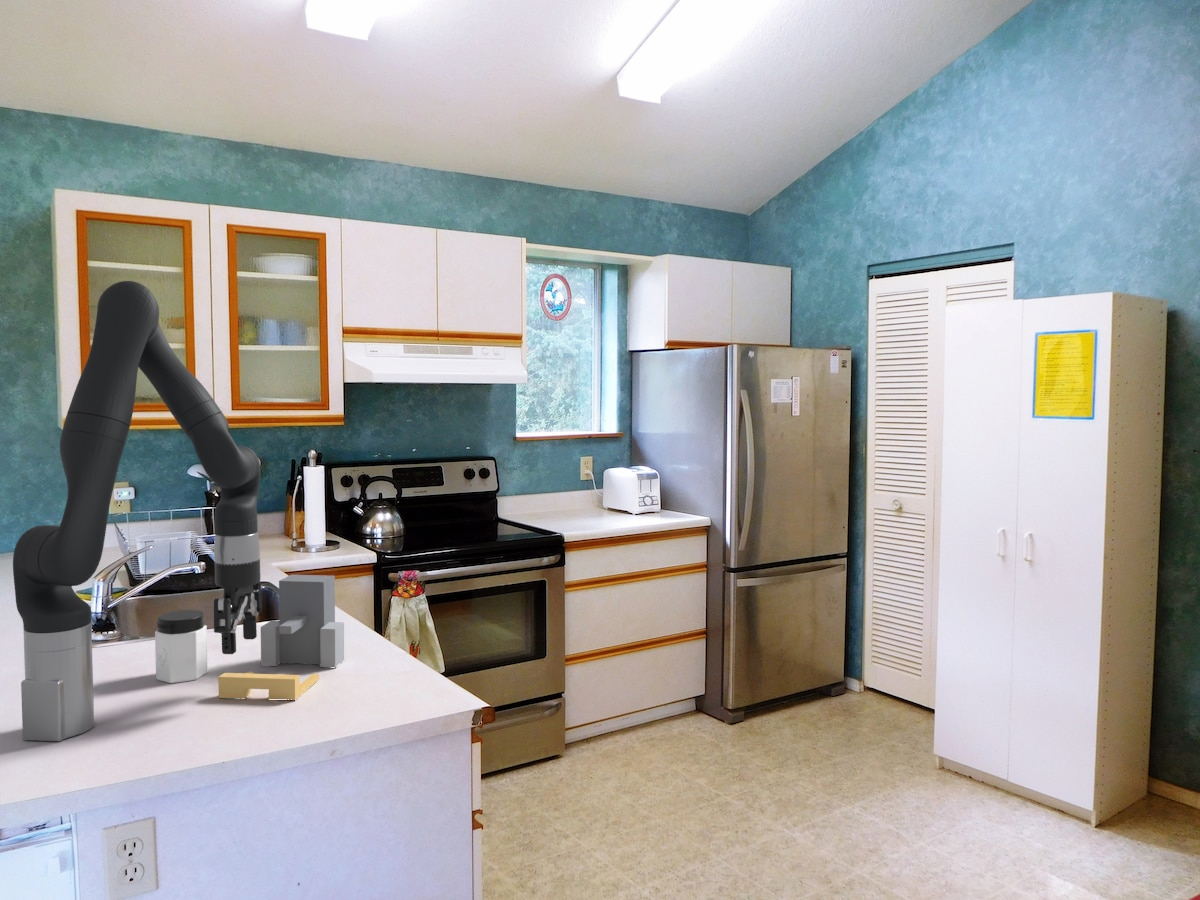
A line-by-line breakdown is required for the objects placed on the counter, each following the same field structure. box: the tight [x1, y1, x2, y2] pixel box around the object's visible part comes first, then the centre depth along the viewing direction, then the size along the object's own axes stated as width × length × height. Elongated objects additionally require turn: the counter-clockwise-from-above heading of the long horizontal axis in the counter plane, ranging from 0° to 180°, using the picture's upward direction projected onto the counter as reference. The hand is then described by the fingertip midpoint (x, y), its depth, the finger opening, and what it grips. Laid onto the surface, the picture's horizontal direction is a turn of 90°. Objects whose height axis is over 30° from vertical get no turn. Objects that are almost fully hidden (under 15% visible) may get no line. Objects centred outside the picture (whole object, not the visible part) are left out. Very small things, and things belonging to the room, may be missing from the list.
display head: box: [260, 574, 345, 668], centre depth 170 cm, size 14×15×17 cm
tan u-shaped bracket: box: [217, 671, 320, 700], centre depth 157 cm, size 11×14×4 cm
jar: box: [154, 609, 209, 684], centre depth 163 cm, size 9×8×12 cm
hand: (240, 645), depth 154 cm, fingers open, 8 cm apart
